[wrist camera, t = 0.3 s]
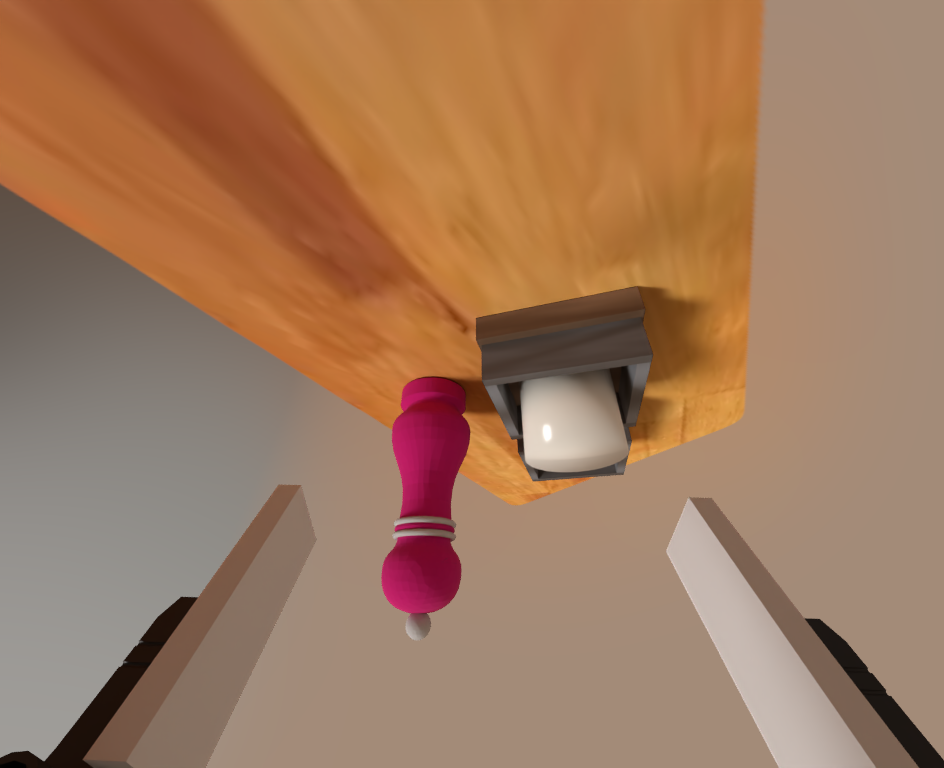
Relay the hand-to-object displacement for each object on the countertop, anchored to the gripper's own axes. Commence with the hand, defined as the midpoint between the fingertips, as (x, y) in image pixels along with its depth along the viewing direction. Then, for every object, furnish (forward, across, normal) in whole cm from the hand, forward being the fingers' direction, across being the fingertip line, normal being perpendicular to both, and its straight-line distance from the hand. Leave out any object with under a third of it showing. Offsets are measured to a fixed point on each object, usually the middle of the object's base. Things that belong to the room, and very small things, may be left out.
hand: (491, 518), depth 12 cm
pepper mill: (+22, -5, -7) cm, 24 cm away
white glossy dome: (+17, +6, -2) cm, 18 cm away
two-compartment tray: (+22, +8, -7) cm, 24 cm away
